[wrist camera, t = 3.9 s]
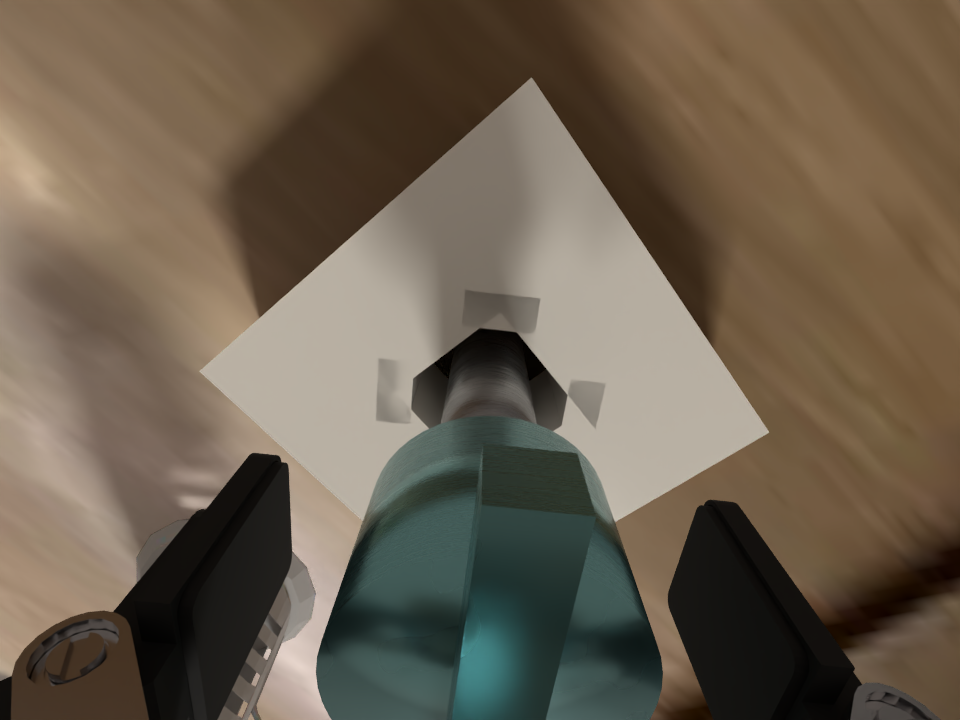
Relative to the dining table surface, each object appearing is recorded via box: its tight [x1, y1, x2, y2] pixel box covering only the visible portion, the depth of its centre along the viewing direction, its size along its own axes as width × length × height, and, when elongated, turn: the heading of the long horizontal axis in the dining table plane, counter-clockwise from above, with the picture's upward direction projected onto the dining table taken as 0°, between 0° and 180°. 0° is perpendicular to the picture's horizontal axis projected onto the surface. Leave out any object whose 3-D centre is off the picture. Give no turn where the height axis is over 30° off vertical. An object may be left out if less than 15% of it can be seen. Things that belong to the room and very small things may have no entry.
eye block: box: [199, 77, 769, 522], centre depth 20 cm, size 14×14×5 cm
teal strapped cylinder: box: [316, 328, 663, 720], centre depth 14 cm, size 9×6×16 cm, turn 174°
